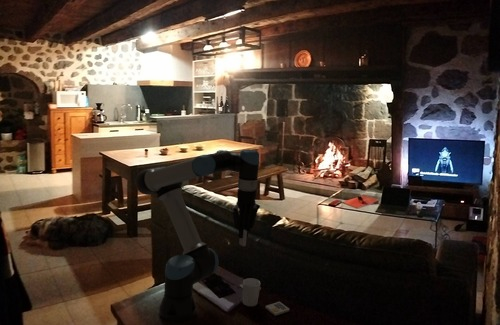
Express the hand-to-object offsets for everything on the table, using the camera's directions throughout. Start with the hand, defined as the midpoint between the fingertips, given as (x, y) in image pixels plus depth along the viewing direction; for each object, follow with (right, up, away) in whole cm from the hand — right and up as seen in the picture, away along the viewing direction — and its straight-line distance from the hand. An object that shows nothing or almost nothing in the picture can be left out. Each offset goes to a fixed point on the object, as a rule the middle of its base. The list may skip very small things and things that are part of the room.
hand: (242, 244), depth 163 cm
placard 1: (+3, -27, +31) cm, 42 cm away
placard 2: (+15, -32, +15) cm, 38 cm away
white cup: (+3, -30, +18) cm, 35 cm away
